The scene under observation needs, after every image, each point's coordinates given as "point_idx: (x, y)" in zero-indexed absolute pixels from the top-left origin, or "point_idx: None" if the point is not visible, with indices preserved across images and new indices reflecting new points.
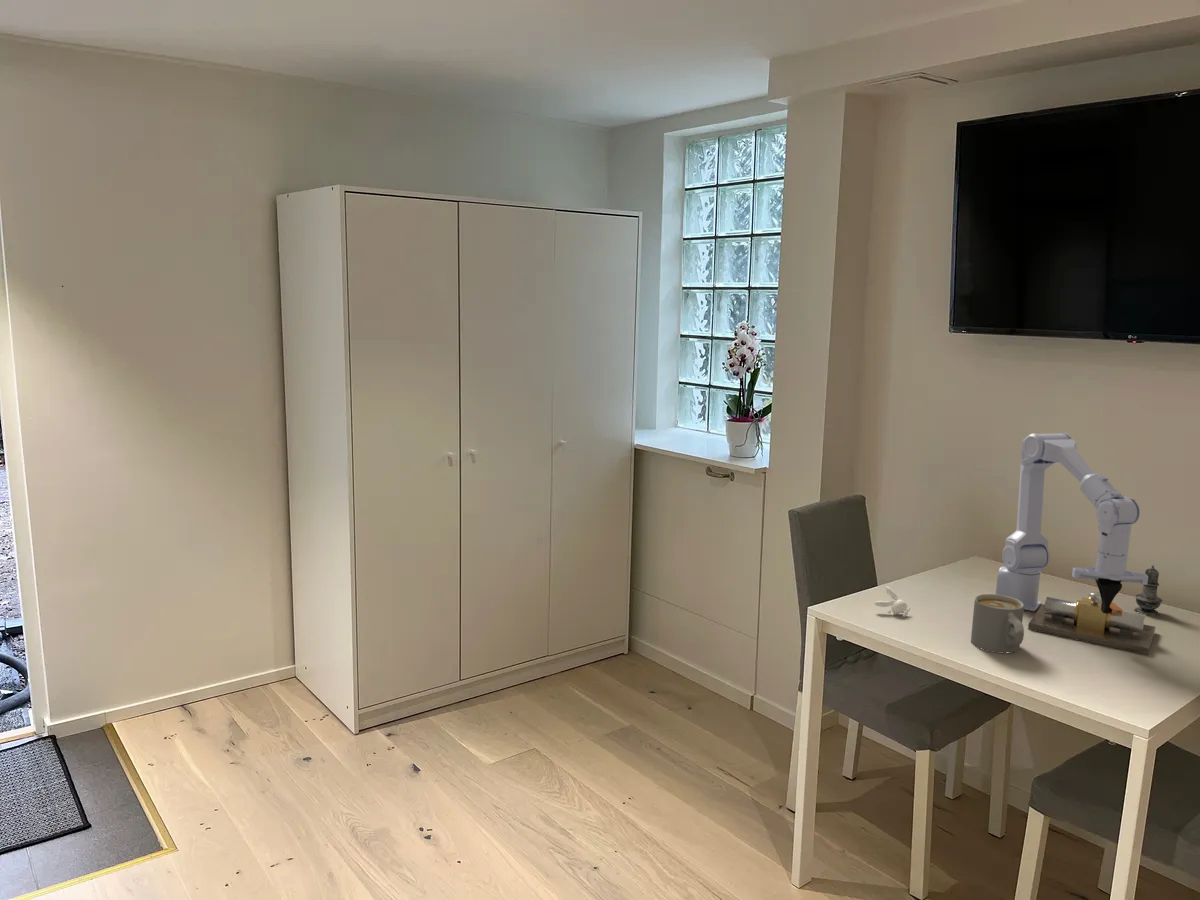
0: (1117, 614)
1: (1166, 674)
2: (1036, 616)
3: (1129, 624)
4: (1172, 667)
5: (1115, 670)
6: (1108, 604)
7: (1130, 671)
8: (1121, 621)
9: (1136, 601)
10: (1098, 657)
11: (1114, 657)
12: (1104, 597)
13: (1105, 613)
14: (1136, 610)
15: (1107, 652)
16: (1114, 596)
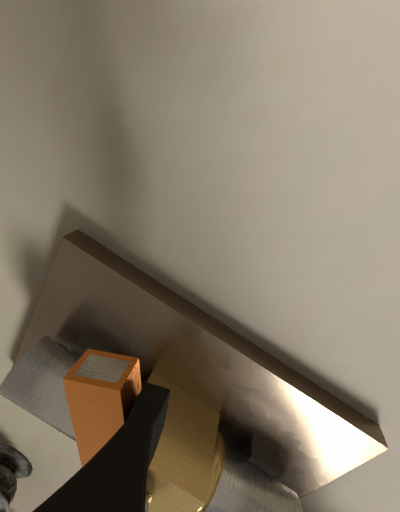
0: (104, 360)
1: (64, 35)
2: (317, 481)
3: (68, 366)
4: (28, 122)
5: (263, 43)
6: (130, 432)
7: (198, 43)
8: None
9: (13, 493)
10: (261, 195)
11: (197, 200)
12: (141, 503)
13: None
14: (28, 468)
15: (201, 245)
16: (56, 495)
